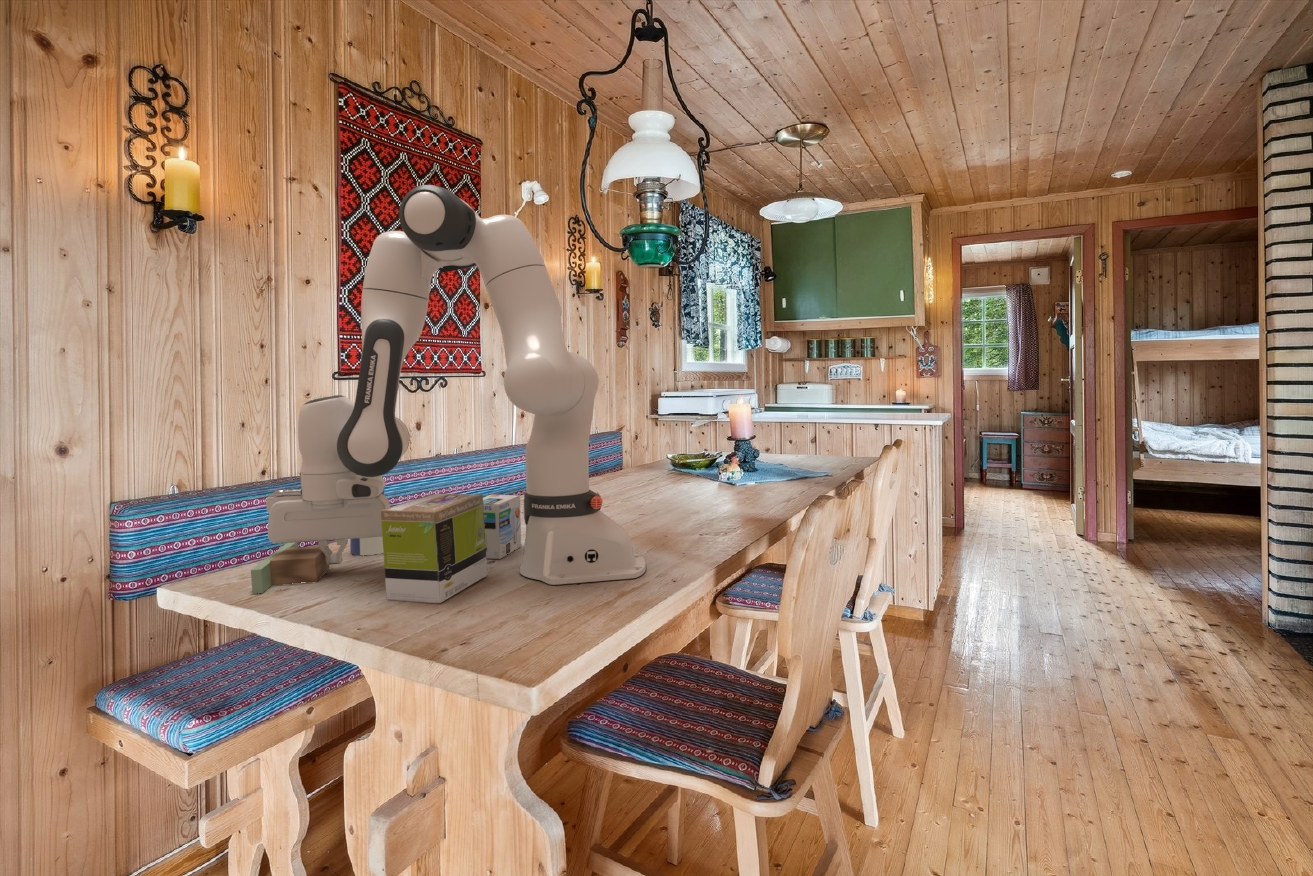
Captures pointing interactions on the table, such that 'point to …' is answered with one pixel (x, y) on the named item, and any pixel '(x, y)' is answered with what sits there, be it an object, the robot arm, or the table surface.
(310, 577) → the walnut block
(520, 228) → the robot arm
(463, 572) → the tea box
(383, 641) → the table surface
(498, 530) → the light bulb box
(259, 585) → the green board
